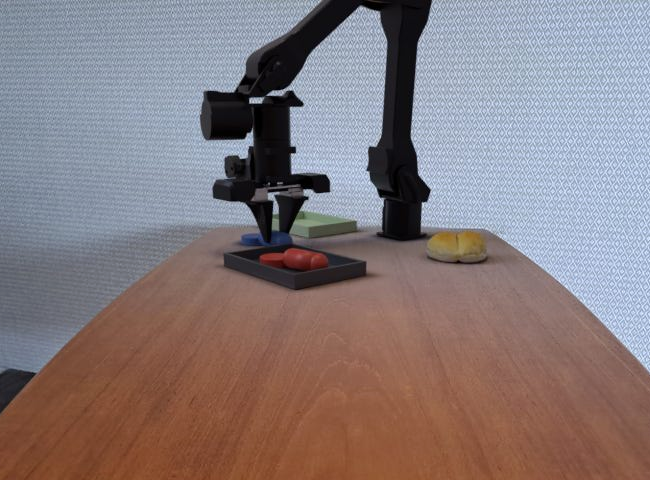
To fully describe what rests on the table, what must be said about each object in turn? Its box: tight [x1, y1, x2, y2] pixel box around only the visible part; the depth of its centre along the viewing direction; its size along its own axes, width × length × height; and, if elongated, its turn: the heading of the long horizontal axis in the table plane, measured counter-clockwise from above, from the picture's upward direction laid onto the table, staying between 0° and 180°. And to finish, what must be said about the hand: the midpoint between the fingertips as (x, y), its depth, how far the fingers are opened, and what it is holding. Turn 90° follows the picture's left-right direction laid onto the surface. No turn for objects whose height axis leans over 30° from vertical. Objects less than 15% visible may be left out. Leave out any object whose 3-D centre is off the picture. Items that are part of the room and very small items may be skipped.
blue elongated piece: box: [240, 229, 294, 247], centre depth 109 cm, size 12×5×3 cm, turn 40°
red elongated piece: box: [260, 248, 329, 272], centre depth 93 cm, size 12×5×3 cm, turn 47°
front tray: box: [222, 242, 367, 290], centre depth 94 cm, size 17×12×2 cm
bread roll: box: [426, 230, 488, 264], centre depth 101 cm, size 8×9×4 cm
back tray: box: [272, 210, 358, 239], centre depth 125 cm, size 16×11×2 cm
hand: (275, 241), depth 108 cm, fingers closed on blue elongated piece, 3 cm apart
